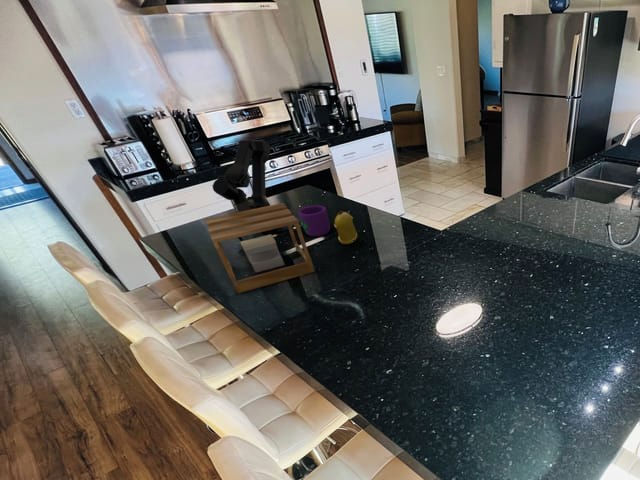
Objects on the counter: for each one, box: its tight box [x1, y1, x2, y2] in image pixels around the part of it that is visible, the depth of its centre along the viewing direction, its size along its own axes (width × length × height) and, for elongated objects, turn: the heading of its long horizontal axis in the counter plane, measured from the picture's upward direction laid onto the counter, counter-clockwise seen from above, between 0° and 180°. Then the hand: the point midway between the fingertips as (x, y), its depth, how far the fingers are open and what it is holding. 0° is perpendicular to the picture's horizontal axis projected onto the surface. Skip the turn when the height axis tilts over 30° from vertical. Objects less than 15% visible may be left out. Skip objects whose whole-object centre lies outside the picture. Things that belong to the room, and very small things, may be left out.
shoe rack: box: [204, 202, 316, 294], centre depth 143 cm, size 22×26×19 cm
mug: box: [297, 204, 331, 237], centre depth 173 cm, size 17×11×10 cm, turn 44°
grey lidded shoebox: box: [240, 234, 288, 276], centre depth 150 cm, size 11×16×8 cm
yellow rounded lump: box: [333, 210, 359, 245], centre depth 161 cm, size 12×8×15 cm
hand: (257, 241), depth 154 cm, fingers open, 9 cm apart
